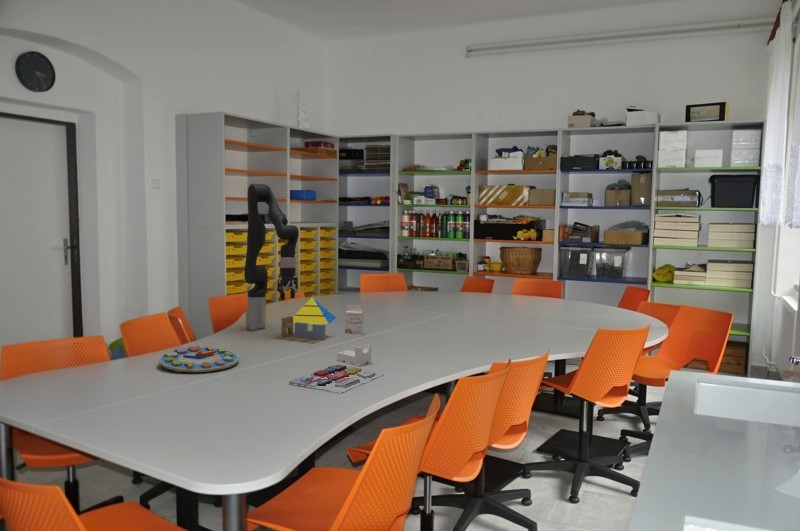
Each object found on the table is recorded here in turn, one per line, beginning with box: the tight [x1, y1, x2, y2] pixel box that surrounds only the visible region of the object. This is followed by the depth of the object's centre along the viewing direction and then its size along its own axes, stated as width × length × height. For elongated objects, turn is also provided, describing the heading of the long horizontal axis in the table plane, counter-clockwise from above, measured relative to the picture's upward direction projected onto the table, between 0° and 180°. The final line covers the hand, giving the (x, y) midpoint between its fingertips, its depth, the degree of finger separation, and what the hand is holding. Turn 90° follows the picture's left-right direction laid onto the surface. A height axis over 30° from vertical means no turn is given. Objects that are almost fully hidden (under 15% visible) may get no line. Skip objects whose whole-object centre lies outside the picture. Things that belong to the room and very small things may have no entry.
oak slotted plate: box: [281, 316, 294, 337], centre depth 317 cm, size 2×6×9 cm, turn 156°
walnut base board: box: [270, 331, 336, 345], centre depth 313 cm, size 24×20×1 cm
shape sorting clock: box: [158, 345, 240, 374], centre depth 259 cm, size 31×30×6 cm
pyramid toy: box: [292, 296, 337, 325], centre depth 367 cm, size 25×25×14 cm
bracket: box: [336, 344, 372, 365], centre depth 270 cm, size 13×7×8 cm, turn 52°
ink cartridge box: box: [344, 304, 364, 336], centre depth 328 cm, size 9×5×15 cm, turn 84°
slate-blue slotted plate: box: [294, 322, 326, 341], centre depth 311 cm, size 16×2×7 cm, turn 65°
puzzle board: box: [288, 364, 376, 388], centre depth 241 cm, size 30×23×3 cm
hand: (287, 299), depth 316 cm, fingers open, 8 cm apart
